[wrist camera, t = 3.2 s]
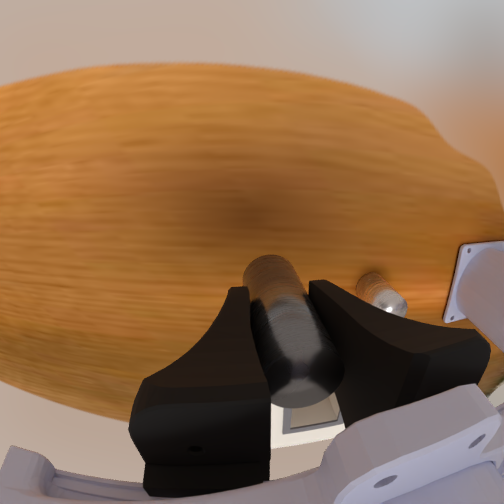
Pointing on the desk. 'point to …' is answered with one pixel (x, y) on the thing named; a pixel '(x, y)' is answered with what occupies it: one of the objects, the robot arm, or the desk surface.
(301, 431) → the pin block
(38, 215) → the desk surface
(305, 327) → the long pin
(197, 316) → the desk surface
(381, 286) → the short pin
